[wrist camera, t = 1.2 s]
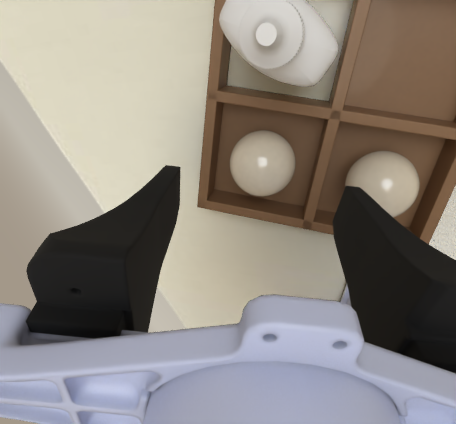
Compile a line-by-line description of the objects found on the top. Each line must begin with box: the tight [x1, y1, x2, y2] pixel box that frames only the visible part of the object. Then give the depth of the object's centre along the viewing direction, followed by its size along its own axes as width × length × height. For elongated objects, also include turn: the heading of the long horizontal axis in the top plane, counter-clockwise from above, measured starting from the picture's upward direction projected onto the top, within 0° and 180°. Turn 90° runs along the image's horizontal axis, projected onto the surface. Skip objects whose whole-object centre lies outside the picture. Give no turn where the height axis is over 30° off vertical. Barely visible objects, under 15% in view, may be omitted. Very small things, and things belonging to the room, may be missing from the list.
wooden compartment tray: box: [197, 0, 456, 244], centre depth 22 cm, size 16×16×3 cm
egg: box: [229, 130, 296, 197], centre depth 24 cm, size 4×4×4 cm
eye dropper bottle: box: [219, 0, 339, 87], centre depth 17 cm, size 4×6×12 cm
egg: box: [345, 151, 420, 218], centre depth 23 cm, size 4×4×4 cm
